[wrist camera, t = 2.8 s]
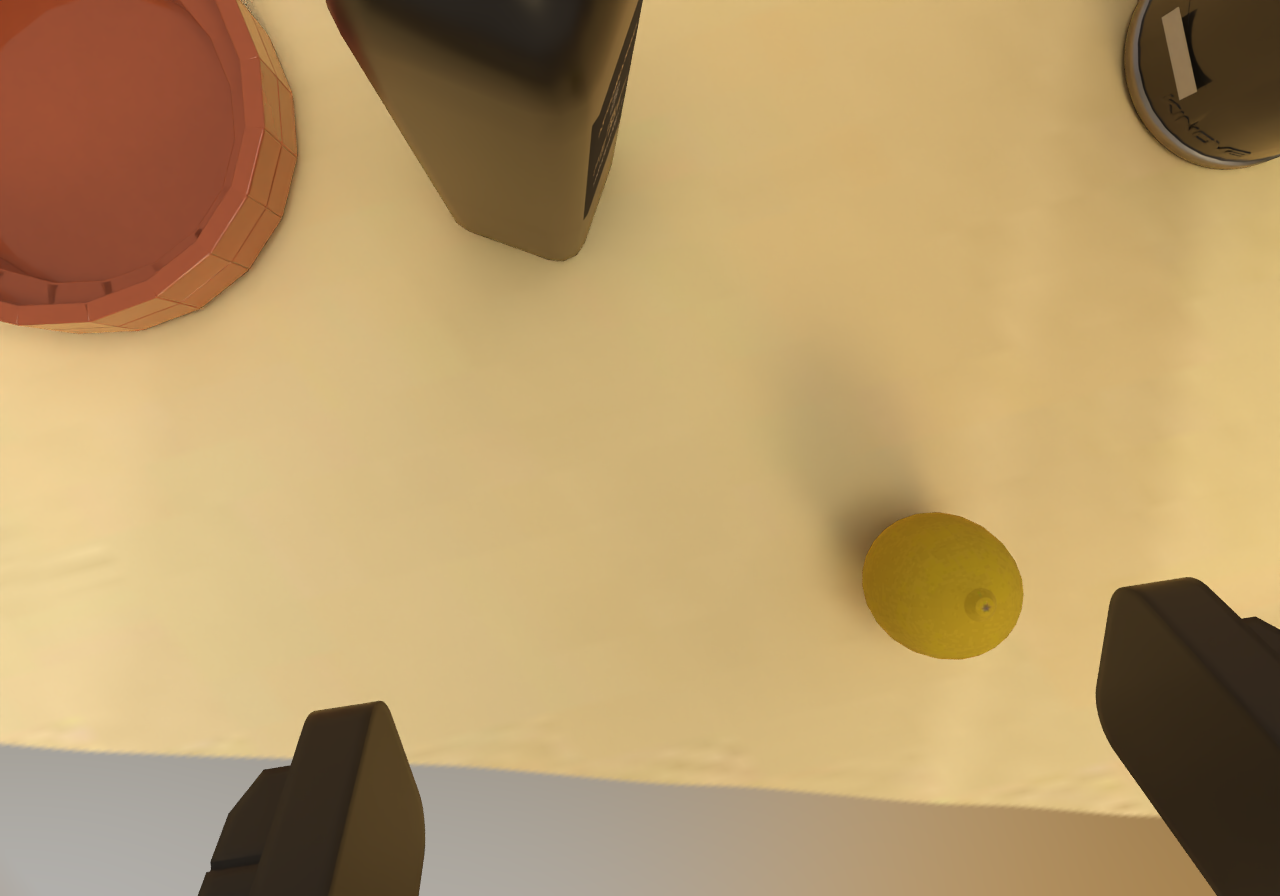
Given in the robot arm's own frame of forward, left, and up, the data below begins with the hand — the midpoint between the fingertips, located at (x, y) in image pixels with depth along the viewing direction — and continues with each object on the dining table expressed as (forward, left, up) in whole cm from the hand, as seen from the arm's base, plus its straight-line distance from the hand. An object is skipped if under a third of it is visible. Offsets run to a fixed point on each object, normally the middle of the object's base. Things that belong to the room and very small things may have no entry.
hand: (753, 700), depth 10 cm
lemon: (-4, +12, -28) cm, 31 cm away
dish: (-1, -25, -28) cm, 37 cm away
